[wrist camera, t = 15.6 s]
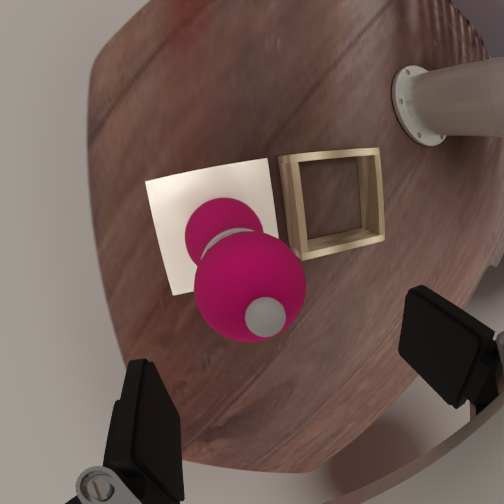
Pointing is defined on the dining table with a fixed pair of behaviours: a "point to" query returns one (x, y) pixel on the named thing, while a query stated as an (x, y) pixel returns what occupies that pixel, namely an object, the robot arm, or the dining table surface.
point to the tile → (194, 195)
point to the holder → (368, 201)
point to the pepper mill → (242, 272)
